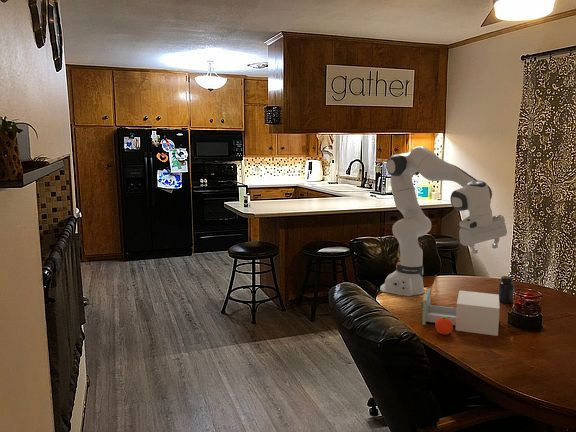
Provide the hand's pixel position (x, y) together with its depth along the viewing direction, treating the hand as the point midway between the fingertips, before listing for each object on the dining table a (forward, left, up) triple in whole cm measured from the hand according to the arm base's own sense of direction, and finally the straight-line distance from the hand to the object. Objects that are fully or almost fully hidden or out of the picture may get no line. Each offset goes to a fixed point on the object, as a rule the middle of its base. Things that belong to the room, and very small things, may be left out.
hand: (485, 250), depth 199 cm
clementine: (-14, -21, -31) cm, 40 cm away
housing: (-2, -7, -31) cm, 32 cm away
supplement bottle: (+10, +29, -31) cm, 44 cm away
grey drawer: (-17, -7, -30) cm, 35 cm away
